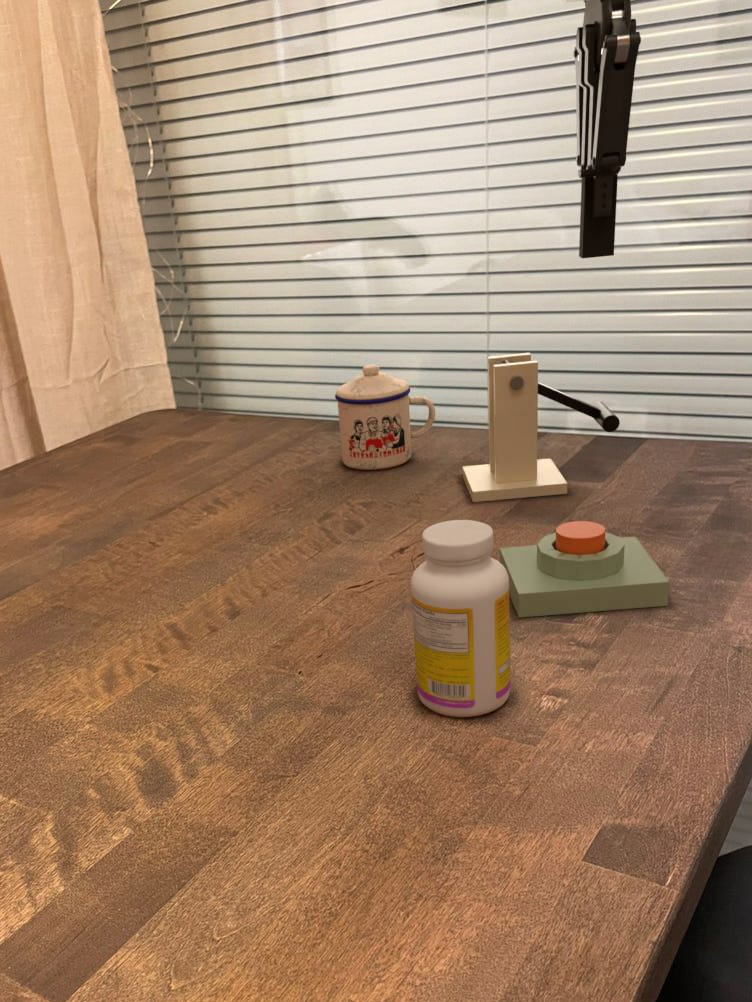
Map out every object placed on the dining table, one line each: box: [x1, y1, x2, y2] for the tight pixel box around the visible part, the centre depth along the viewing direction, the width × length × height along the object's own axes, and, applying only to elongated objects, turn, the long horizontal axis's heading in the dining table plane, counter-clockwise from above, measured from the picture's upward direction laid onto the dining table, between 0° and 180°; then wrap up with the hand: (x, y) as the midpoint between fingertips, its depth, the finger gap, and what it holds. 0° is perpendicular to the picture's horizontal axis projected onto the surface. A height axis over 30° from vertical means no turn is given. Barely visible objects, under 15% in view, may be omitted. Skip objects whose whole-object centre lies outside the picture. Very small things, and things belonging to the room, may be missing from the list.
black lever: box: [502, 359, 621, 433], centre depth 107 cm, size 13×6×2 cm, turn 87°
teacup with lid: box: [334, 364, 436, 471], centre depth 123 cm, size 12×9×12 cm
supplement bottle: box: [410, 519, 511, 718], centre depth 70 cm, size 7×7×13 cm
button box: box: [499, 531, 670, 619], centre depth 86 cm, size 12×10×4 cm
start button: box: [555, 520, 607, 555], centre depth 85 cm, size 4×4×2 cm
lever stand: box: [462, 352, 568, 503], centre depth 109 cm, size 10×9×14 cm
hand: (596, 255), depth 89 cm, fingers closed
